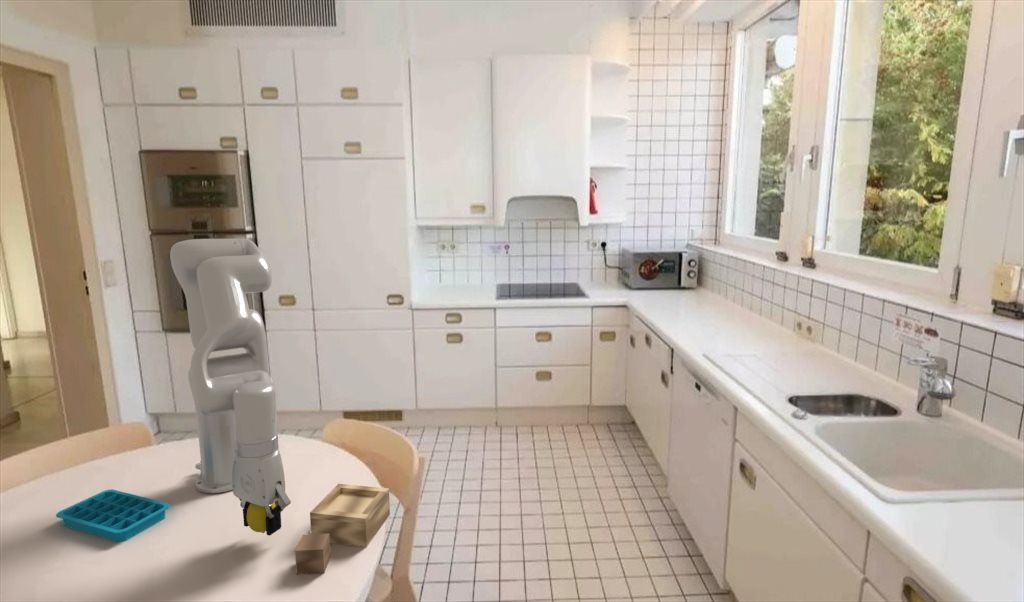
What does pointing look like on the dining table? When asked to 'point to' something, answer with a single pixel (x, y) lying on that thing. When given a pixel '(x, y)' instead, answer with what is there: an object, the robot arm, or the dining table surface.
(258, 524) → the lemon
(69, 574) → the dining table surface
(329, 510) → the oak tray
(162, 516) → the ice cube tray
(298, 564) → the walnut cube
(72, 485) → the dining table surface
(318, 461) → the dining table surface
